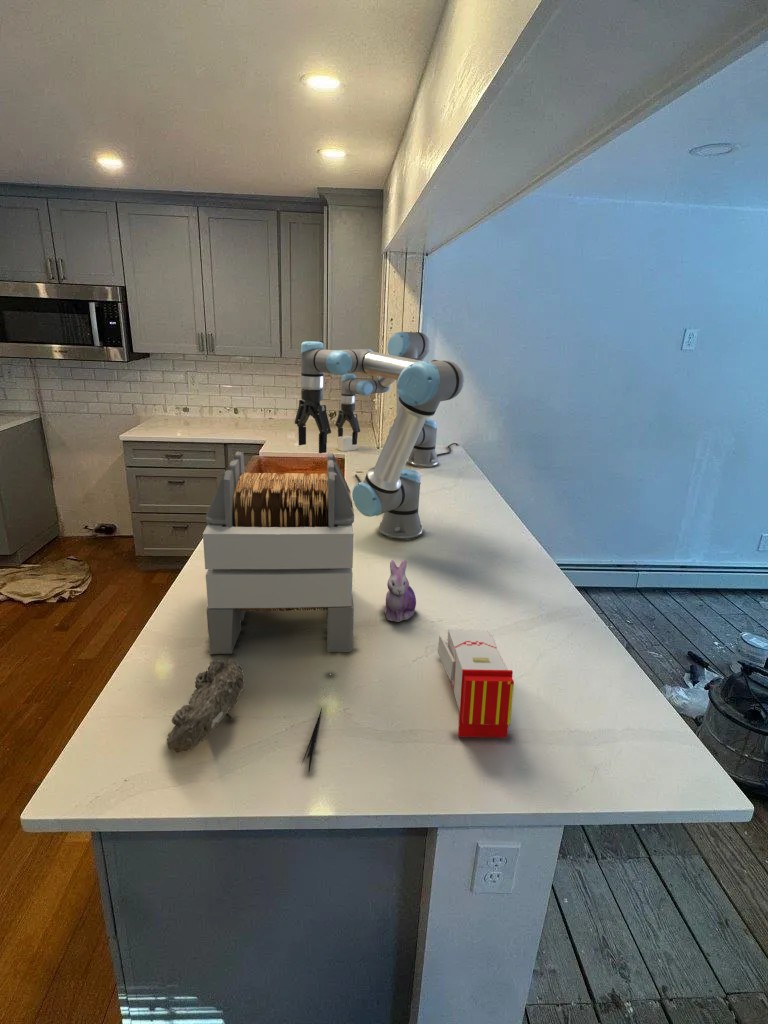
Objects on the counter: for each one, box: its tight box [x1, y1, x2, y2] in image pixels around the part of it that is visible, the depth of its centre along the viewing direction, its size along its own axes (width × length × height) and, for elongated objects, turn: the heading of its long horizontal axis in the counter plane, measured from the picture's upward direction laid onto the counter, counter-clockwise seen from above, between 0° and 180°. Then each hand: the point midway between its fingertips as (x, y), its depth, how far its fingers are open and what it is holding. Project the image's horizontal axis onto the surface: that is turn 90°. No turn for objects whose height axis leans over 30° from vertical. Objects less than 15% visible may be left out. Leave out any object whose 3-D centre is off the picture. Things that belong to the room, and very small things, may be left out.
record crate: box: [202, 451, 355, 655], centre depth 137 cm, size 34×33×41 cm
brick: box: [337, 434, 357, 452], centre depth 313 cm, size 9×5×7 cm, turn 129°
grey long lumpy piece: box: [166, 658, 245, 754], centre depth 106 cm, size 22×10×15 cm
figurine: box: [384, 558, 417, 623], centre depth 145 cm, size 9×10×15 cm
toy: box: [437, 628, 515, 738], centre depth 117 cm, size 12×13×30 cm
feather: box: [301, 673, 332, 771], centre depth 108 cm, size 2×28×2 cm
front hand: (312, 448), depth 202 cm, fingers open, 13 cm apart
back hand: (347, 442), depth 313 cm, fingers open, 13 cm apart
